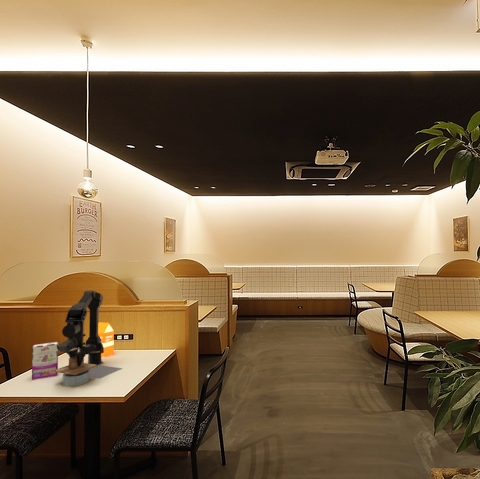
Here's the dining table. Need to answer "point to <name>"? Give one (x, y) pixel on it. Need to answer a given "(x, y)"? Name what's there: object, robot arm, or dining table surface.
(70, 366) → the walnut lid
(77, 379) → the bowl
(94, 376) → the mat
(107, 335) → the orange juice
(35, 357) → the candy bar box
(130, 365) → the dining table surface
